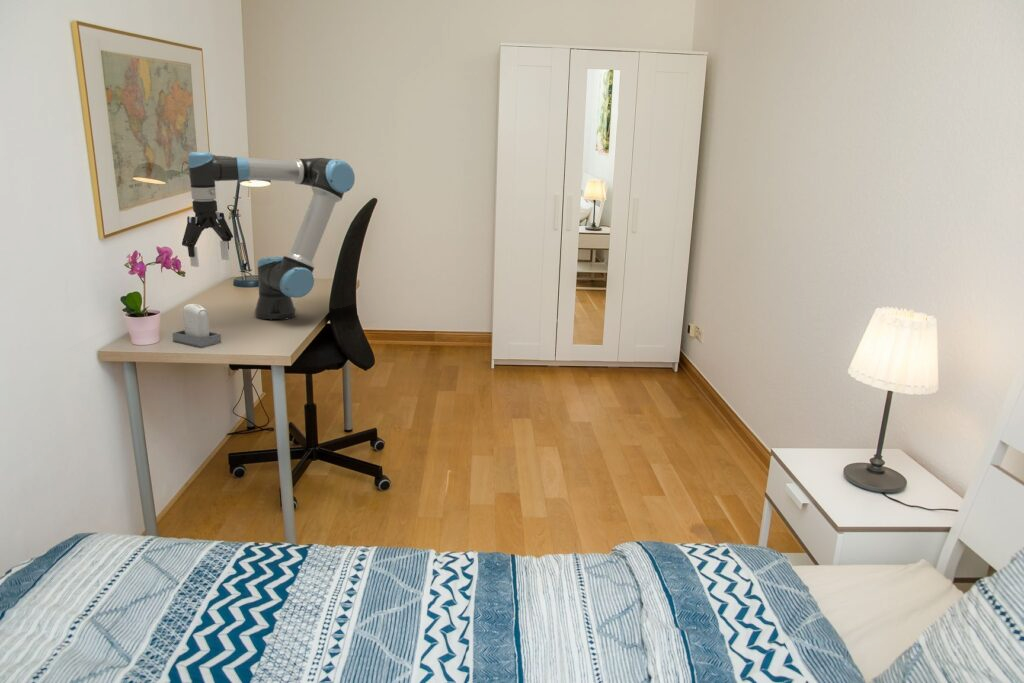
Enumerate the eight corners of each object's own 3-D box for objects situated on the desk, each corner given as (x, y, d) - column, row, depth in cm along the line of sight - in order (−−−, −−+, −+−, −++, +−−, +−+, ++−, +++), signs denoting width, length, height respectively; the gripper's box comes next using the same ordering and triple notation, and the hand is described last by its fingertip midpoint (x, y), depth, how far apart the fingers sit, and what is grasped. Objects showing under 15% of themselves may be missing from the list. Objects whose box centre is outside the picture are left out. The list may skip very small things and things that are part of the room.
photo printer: (183, 338, 248) (180, 302, 245) (195, 336, 251) (192, 300, 248) (199, 344, 242) (197, 308, 239) (211, 342, 245) (209, 306, 242)
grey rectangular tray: (192, 336, 253) (192, 327, 252) (221, 342, 248) (220, 333, 247) (172, 341, 246) (172, 332, 245) (201, 348, 241) (201, 339, 240)
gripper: (182, 204, 231) (190, 270, 237) (240, 197, 253) (245, 258, 259) (165, 202, 234) (172, 268, 240) (223, 195, 256) (229, 255, 262)
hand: (210, 263), depth 250 cm, fingers open, 13 cm apart
